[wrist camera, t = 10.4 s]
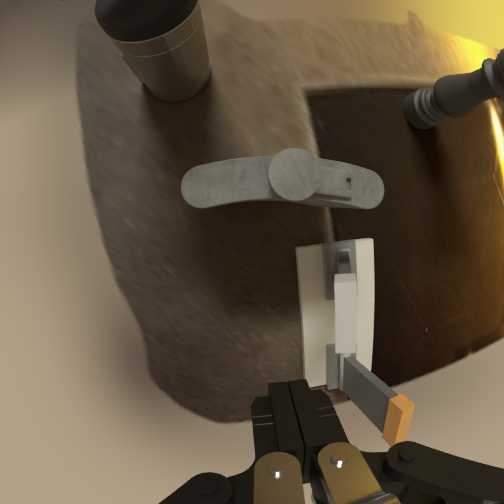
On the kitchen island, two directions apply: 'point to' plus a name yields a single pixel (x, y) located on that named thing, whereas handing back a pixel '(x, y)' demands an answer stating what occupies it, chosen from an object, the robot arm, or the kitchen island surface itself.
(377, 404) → the orange lever
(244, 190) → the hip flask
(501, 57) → the candle holder
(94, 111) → the kitchen island surface
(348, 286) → the grey lever
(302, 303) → the switch panel
